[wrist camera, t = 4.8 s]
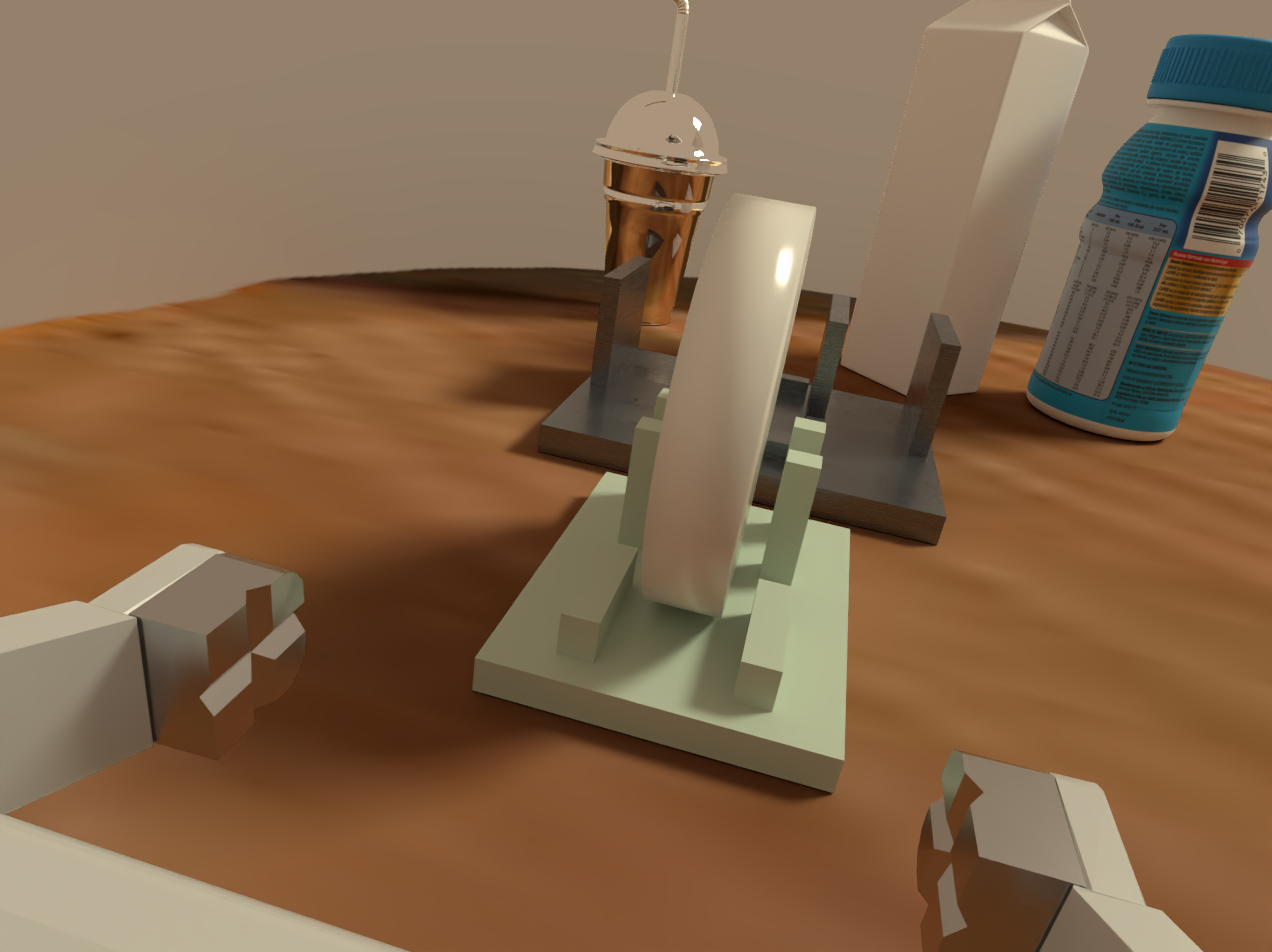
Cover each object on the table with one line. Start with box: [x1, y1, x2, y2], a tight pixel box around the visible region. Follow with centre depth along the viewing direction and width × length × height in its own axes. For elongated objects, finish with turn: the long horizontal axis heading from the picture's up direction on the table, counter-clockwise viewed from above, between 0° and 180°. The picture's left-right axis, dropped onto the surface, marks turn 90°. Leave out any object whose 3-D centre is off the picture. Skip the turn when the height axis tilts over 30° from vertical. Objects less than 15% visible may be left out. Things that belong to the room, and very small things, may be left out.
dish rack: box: [538, 256, 962, 545], centre depth 38 cm, size 16×13×6 cm
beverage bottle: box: [1026, 34, 1272, 441], centre depth 46 cm, size 8×8×20 cm
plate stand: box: [472, 388, 850, 793], centre depth 25 cm, size 9×12×5 cm
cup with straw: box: [592, 0, 728, 325], centre depth 53 cm, size 8×9×20 cm
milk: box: [841, 0, 1089, 396], centre depth 48 cm, size 6×6×22 cm
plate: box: [641, 193, 816, 619], centre depth 23 cm, size 2×11×11 cm, turn 166°
